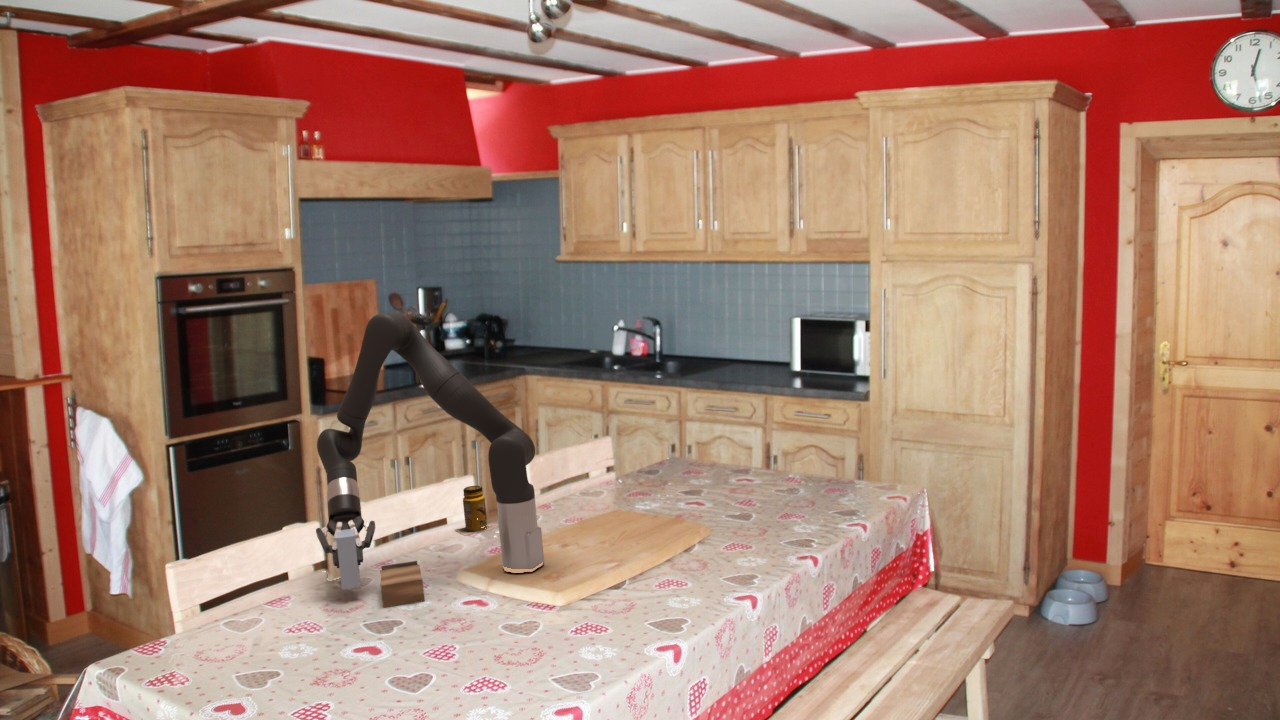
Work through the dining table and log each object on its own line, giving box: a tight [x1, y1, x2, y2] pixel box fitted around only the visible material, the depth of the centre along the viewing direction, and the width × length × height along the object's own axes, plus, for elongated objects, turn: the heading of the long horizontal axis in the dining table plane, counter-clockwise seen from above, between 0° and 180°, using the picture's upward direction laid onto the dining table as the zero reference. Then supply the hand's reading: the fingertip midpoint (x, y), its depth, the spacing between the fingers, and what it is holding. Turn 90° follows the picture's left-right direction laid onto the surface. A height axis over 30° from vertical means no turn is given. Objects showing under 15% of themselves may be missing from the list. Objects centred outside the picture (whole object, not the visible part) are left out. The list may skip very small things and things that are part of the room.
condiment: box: [454, 485, 494, 536], centre depth 290 cm, size 7×8×12 cm
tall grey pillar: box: [336, 529, 361, 590], centre depth 240 cm, size 7×4×12 cm, turn 15°
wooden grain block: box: [379, 560, 425, 608], centre depth 242 cm, size 20×9×6 cm, turn 15°
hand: (348, 564), depth 238 cm, fingers closed on tall grey pillar, 4 cm apart
